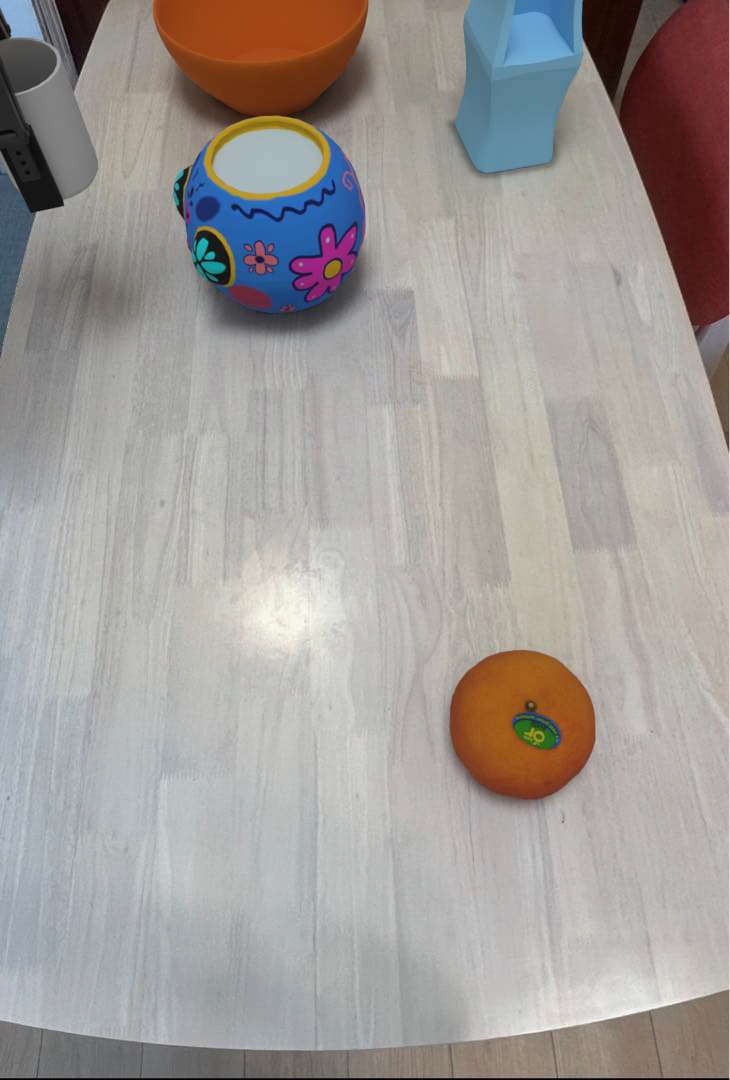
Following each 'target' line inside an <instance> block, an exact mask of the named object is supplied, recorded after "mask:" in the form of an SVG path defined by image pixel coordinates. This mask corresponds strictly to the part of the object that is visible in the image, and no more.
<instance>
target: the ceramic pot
mask: <svg viewBox="0 0 730 1080" xmlns="http://www.w3.org/2000/svg"><path fill="white" fill-rule="evenodd" d="M362 191H363V190H362V188H361V185H360V182H359V179H358V175H357V172H356V170H355V168H354V166H353V164H352V163H351V161H350V159H349V158H348V156H347V155H346V154H345V151H343V149H342V148H341V147H340V145H338V143H336V141H335V140H333V138H332V137H330V136H329V135H328V134H326V132H324V131H323V130H322V129H320V128H318V127H316V126H315V125H312V124H310V123H307V122H306V121H303V120H301V119H299V118H293V117H289V116H260V117H256V116H254V117H251V118H246V119H243V120H240V121H238V122H236V123H233V124H230V125H228V126H226V127H225V128H223V129H222V130H221V131H219V133H218V132H217V134H215V135H214V136H213V137H212V138H211V139H210V140H209V141H207V143H206V144H205V146H204V147H203V148H202V150H200V152H199V153H198V154H197V157H196V158H195V160H194V162H193V164H190V165H189V166H187V167H185V168H184V169H181V170H180V172H178V174H177V175H176V178H175V180H174V184H173V194H172V195H173V201H174V203H175V207H176V210H177V212H178V213H179V215H180V216H181V218H182V220H183V221H184V225H185V231H186V244H187V248H188V250H189V252H190V253H191V259H192V262H193V265H194V267H195V269H196V272H197V273H198V275H200V276H201V277H202V278H203V279H204V280H205V281H207V282H209V283H212V284H213V285H214V286H215V287H216V288H218V289H219V290H220V291H221V292H222V293H224V295H226V296H227V297H228V298H230V299H232V300H233V301H235V302H236V303H238V304H239V305H241V306H243V307H246V308H248V309H250V310H254V311H259V312H265V313H271V314H281V313H282V314H283V313H293V312H294V313H295V312H300V311H303V310H305V309H309V308H311V307H313V306H317V305H320V304H321V303H322V302H323V301H325V300H326V299H328V298H330V297H331V296H332V295H333V294H334V293H335V292H336V291H337V290H338V288H339V287H340V286H341V285H342V284H343V283H344V282H345V281H346V279H347V278H348V277H349V276H350V274H351V272H353V269H354V267H355V264H356V262H357V259H358V257H359V255H360V251H361V249H362V247H363V244H364V240H365V235H366V227H367V226H366V225H367V224H366V204H365V198H364V194H363V192H362Z"/></svg>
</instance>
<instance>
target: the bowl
mask: <svg viewBox="0 0 730 1080" xmlns="http://www.w3.org/2000/svg"><path fill="white" fill-rule="evenodd" d="M368 13H369V0H153V2H152V17H153V21H154V24H155V28H156V30H157V33H158V35H159V38H160V39H161V41H162V44H163V46H164V47H165V49H166V51H167V52H168V53H169V55H170V57H171V58H172V59H173V61H174V62H175V63H176V64H177V66H178V67H179V69H181V70H182V71H183V72H184V74H186V75H187V76H188V77H189V78H190V80H191V81H192V82H194V83H195V84H196V85H197V86H199V88H201V89H202V90H203V91H205V92H206V93H208V94H209V95H211V96H212V97H213V98H215V99H217V100H219V101H220V102H222V103H223V104H225V105H226V106H227V107H229V108H230V109H232V110H234V111H236V112H238V113H240V114H242V115H243V114H244V115H247V116H250V117H260V116H283V117H285V116H288V115H291V114H295V113H298V112H300V111H302V110H304V109H306V108H309V106H311V105H312V104H313V103H314V102H316V101H317V100H318V99H319V98H320V96H322V94H323V93H324V92H325V91H326V90H327V89H328V88H329V87H330V86H331V85H332V84H333V83H334V82H335V81H337V79H338V78H339V76H340V75H341V74H342V72H343V71H345V69H346V67H347V66H348V65H349V62H350V61H351V59H352V58H353V56H354V54H355V52H356V51H357V49H358V47H359V45H360V42H361V39H362V36H363V34H364V31H365V27H366V23H367V19H368Z"/></svg>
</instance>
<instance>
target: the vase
mask: <svg viewBox="0 0 730 1080" xmlns="http://www.w3.org/2000/svg"><path fill="white" fill-rule="evenodd" d="M583 1H584V0H470V2H469V3H468V6H467V8H466V10H465V13H464V15H463V24H462V29H463V36H464V37H463V38H464V39H463V41H464V50H465V51H464V52H465V82H464V88H463V94H462V97H461V102H460V105H459V107H458V111H457V114H456V115H455V119H454V121H453V125H454V127H455V129H456V131H457V133H458V136H459V138H460V140H461V142H462V144H463V147H464V149H465V152H466V153H467V155H468V157H469V160H470V161H471V163H472V165H473V166H474V168H475V169H476V170H477V171H479V172H482V173H484V174H493V173H494V174H495V173H499V172H505V171H511V170H516V169H521V168H522V169H523V168H529V167H534V166H540V165H545V164H548V163H550V162H551V161H552V159H553V156H554V139H555V131H556V130H555V129H556V124H557V119H558V116H559V113H560V110H561V107H562V104H563V102H564V100H565V97H566V95H567V92H568V90H569V89H570V87H571V84H572V83H573V81H574V79H575V77H576V76H577V74H578V71H579V70H580V68H581V66H582V61H583V59H584V44H583V43H584V41H583V27H582V26H583V23H582V22H583V20H582V19H583Z"/></svg>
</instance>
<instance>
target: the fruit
mask: <svg viewBox="0 0 730 1080" xmlns="http://www.w3.org/2000/svg"><path fill="white" fill-rule="evenodd" d="M449 713H450V714H449V733H450V739H451V743H452V746H453V749H454V753H455V754H456V756H457V757H458V759H459V760H460V761H461V763H462V764H463V765H464V767H465V769H467V771H468V772H469V773H470V775H471V776H472V777H473V778H474V780H475V781H476V782H477V783H479V784H480V785H481V786H483V787H485V788H487V789H488V790H489V791H491V792H493V793H496V794H499V795H502V796H504V797H505V796H506V797H510V798H516V799H519V800H527V801H531V800H540V799H544V798H547V797H550V796H552V795H554V794H555V793H556V794H557V792H559V791H560V790H561V789H563V788H564V787H565V786H567V785H568V783H570V782H571V781H572V780H574V779H575V777H577V776H578V775H579V774H580V773H581V771H582V770H583V769H584V768H585V767H586V765H587V763H588V761H589V760H590V758H591V755H592V752H593V751H594V746H595V744H596V739H597V737H596V733H597V731H596V728H597V727H596V713H595V708H594V704H593V701H592V698H591V695H590V694H589V691H588V690H587V688H586V687H585V685H584V684H583V683H582V682H581V680H580V679H579V678H578V676H577V675H576V674H574V673H573V671H571V670H570V669H569V668H568V666H566V665H565V664H564V663H563V662H562V661H560V660H559V659H558V658H556V657H554V656H551V655H549V654H546V653H544V652H540V651H536V650H529V649H512V650H505V651H500V652H497V653H493V654H491V655H488V656H485V658H482V659H481V660H480V661H479V662H478V663H477V662H476V664H474V666H472V667H471V668H470V669H468V670H467V671H466V672H465V674H463V676H462V677H461V678H460V679H459V681H458V683H457V684H456V687H455V689H454V691H453V693H452V695H451V701H450V706H449Z"/></svg>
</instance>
